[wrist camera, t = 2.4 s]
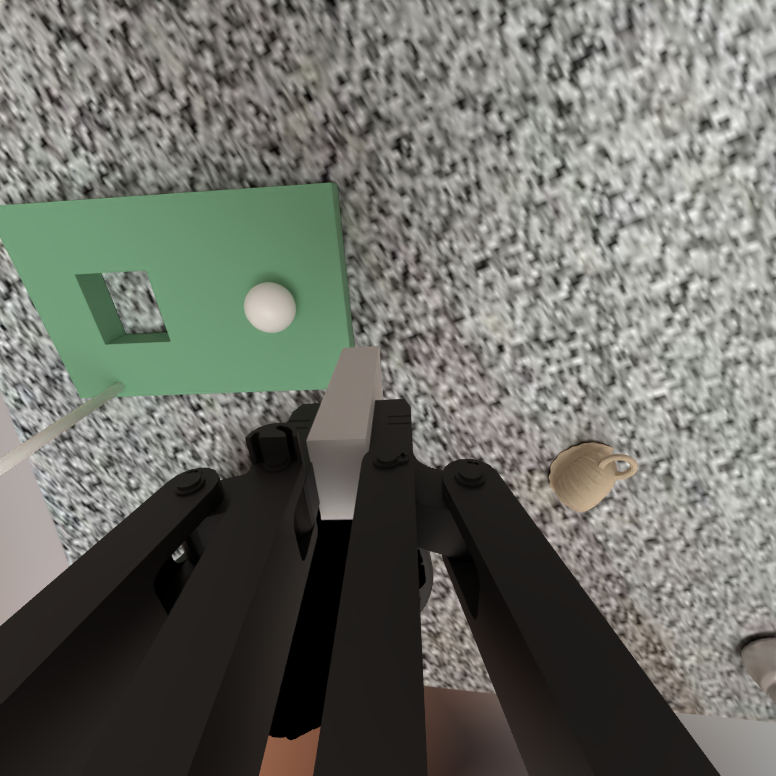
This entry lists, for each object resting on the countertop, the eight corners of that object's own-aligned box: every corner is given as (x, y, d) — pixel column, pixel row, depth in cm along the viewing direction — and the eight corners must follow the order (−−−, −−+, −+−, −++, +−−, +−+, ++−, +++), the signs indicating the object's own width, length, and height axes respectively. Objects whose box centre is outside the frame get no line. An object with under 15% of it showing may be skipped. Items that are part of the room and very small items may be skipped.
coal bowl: (242, 544, 44) (144, 759, 27) (236, 400, 35) (81, 589, 18) (408, 567, 45) (412, 788, 28) (445, 431, 35) (483, 640, 19)
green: (18, 205, 27) (-421, 215, 13) (337, 183, 26) (253, 167, 11) (101, 384, 34) (-122, 524, 20) (357, 375, 33) (321, 518, 18)
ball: (249, 278, 27) (229, 289, 24) (296, 276, 27) (283, 286, 24) (260, 325, 28) (242, 341, 25) (304, 323, 28) (292, 338, 25)
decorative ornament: (534, 478, 38) (553, 518, 33) (593, 419, 34) (624, 455, 30) (564, 494, 39) (587, 536, 34) (626, 437, 35) (660, 475, 30)
